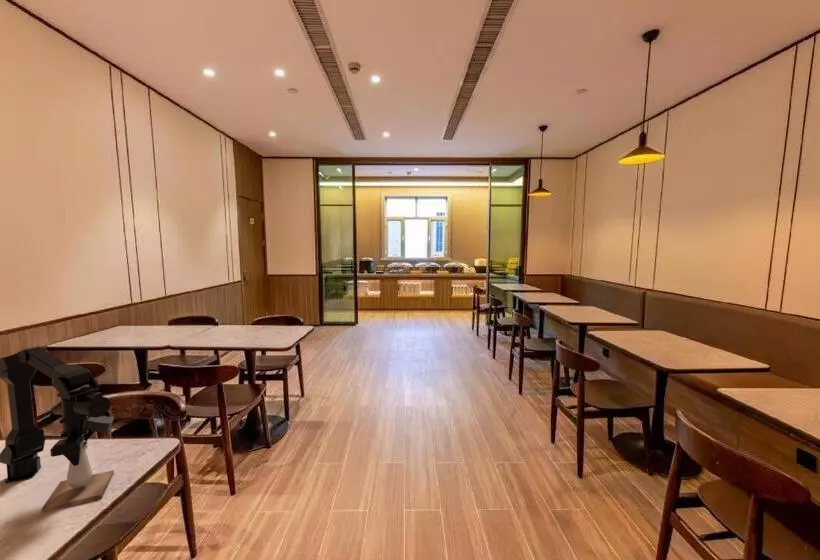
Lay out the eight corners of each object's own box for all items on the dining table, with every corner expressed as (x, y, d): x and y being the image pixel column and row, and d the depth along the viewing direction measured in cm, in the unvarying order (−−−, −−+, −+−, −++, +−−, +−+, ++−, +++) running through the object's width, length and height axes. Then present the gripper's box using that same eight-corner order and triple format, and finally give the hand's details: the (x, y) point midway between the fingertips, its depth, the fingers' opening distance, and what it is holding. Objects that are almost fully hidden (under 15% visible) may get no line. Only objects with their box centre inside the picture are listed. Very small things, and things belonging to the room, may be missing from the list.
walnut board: (42, 512, 101) (41, 508, 100) (60, 484, 112) (60, 481, 112) (101, 498, 106) (101, 494, 106) (113, 473, 118) (113, 470, 118)
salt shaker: (77, 491, 106) (74, 449, 105) (61, 488, 107) (58, 446, 106) (98, 479, 111) (95, 438, 110) (83, 476, 113) (80, 436, 111)
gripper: (100, 419, 102) (103, 472, 104) (117, 395, 119) (120, 440, 120) (47, 428, 97) (51, 482, 99) (73, 401, 114) (76, 448, 115)
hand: (78, 461), depth 108 cm, fingers closed on salt shaker, 3 cm apart
